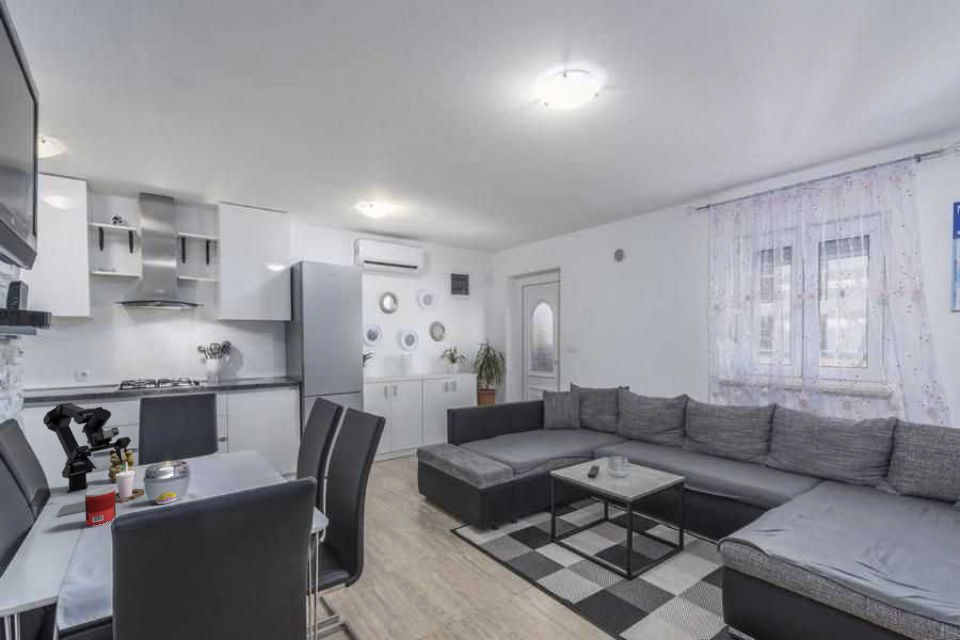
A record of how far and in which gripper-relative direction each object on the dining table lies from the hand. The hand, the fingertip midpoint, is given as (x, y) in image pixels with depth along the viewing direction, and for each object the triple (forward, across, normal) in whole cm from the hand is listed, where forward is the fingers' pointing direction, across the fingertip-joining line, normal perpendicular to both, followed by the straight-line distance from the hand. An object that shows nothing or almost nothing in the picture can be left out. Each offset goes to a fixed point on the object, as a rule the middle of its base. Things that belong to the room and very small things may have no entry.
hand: (109, 464), depth 179 cm
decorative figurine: (-2, +13, +23) cm, 26 cm away
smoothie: (+15, +2, +2) cm, 15 cm away
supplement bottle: (+30, +4, -15) cm, 34 cm away
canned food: (+28, -16, -13) cm, 35 cm away
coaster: (+12, -11, +5) cm, 17 cm away
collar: (+15, +2, +2) cm, 15 cm away
